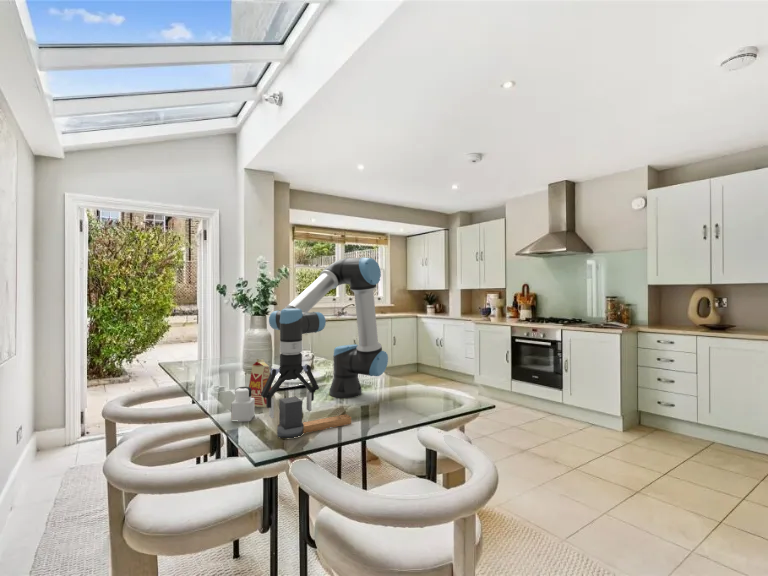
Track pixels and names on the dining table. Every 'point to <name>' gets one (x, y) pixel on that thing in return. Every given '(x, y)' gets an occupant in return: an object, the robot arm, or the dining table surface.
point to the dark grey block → (290, 412)
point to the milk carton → (259, 382)
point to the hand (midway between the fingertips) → (290, 413)
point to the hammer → (314, 426)
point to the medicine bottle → (242, 405)
